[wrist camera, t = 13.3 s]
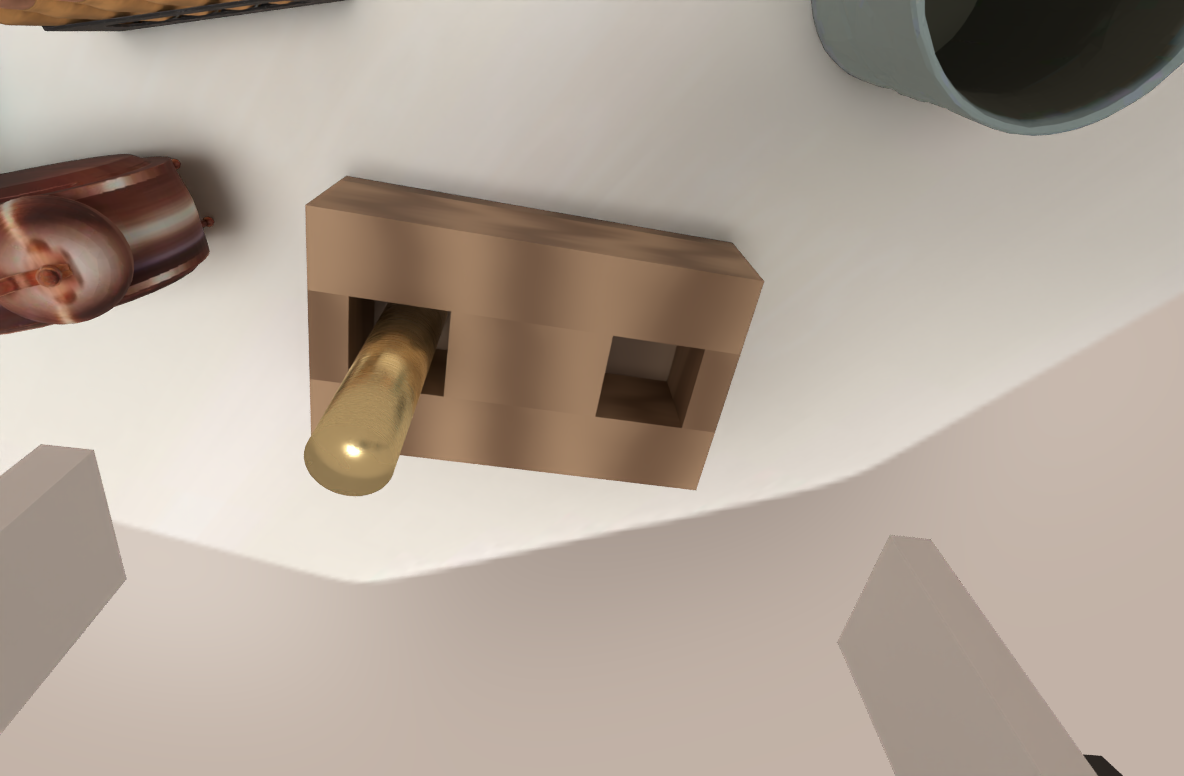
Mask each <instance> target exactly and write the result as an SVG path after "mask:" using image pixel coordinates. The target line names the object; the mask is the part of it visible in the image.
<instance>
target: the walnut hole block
mask: <svg viewBox="0 0 1184 776" xmlns="http://www.w3.org/2000/svg"><path fill="white" fill-rule="evenodd" d="M305 208H306V248H307V288H308V328H309V367H310V407H311V435H312V433H313V432H314V430H315V428H316V427H317V425H318V423H319V421H320V420H321V418H322V416H323V414H324V413H325V411H326V409H327V407H328V406H329V404H330V402H331V401H332V399H333V397H334V395H335V394H336V392H337V390H338V388H339V387H340V385H341V383H342V381H343V380H344V378H345V376H346V375H347V373H348V371H349V369H350V368H351V366H352V364H353V362H354V361H355V359H356V357H357V355H358V354H359V352H360V350H361V349H362V347H363V345H364V343H365V342H366V340H367V338H368V336H369V335H370V333H371V331H372V329H373V328H374V326H375V324H376V323H377V321H378V319H379V317H380V316H381V314H382V312H383V310H384V309H385V307H386V305H387V303H388V302H391V303H398V304H405V305H411V306H418V307H425V308H431V309H438V310H445V311H448V315H447V318H446V321H445V324H444V327H443V330H442V333H441V336H440V339H439V342H438V344H437V347H436V350H435V353H434V356H433V359H432V362H431V365H430V368H429V371H428V373H427V376H426V379H425V382H424V385H423V388H422V391H421V394H420V397H419V400H418V403H417V405H416V408H415V411H414V414H413V417H412V420H411V423H410V426H409V429H408V432H407V435H406V437H405V440H404V443H403V446H402V449H401V452H400V455H405V456H413V457H422V458H430V459H439V460H447V461H455V462H464V463H472V464H480V465H489V466H497V467H506V468H514V469H522V470H531V471H539V472H548V473H556V474H564V475H573V476H581V477H589V478H598V479H606V480H615V481H623V482H631V483H640V484H648V485H656V486H665V487H673V488H682V489H690V490H696V489H697V485H698V482H699V479H700V476H701V473H702V470H703V467H704V464H705V461H706V458H707V455H708V452H709V449H710V446H711V443H712V440H713V436H714V433H715V430H716V427H717V424H718V421H719V418H720V415H721V412H722V409H723V406H724V403H725V400H726V397H727V394H728V391H729V387H730V384H731V381H732V378H733V375H734V372H735V369H736V366H737V363H738V360H739V357H740V354H741V351H742V348H743V345H744V342H745V338H746V335H747V332H748V329H749V326H750V323H751V320H752V317H753V314H754V311H755V308H756V305H757V302H758V299H759V296H760V293H761V289H762V286H763V283H764V280H763V279H762V278H761V277H760V276H759V274H758V273H757V272H756V271H755V270H754V268H753V267H752V266H751V265H750V264H749V262H748V261H747V260H746V259H745V257H744V256H743V255H742V254H741V253H740V251H739V250H738V249H737V248H736V247H735V245H734V244H733V243H730V242H724V241H718V240H713V239H707V238H701V237H695V236H690V235H684V234H678V233H672V232H667V231H661V230H655V229H649V228H643V227H638V226H632V225H626V224H620V223H615V222H609V221H603V220H597V219H591V218H586V217H580V216H574V215H568V214H563V213H557V212H551V211H545V210H540V209H534V208H528V207H522V206H516V205H511V204H505V203H499V202H493V201H488V200H482V199H476V198H470V197H464V196H459V195H453V194H447V193H441V192H436V191H430V190H424V189H418V188H413V187H407V186H401V185H395V184H389V183H384V182H378V181H372V180H366V179H361V178H355V177H349V176H345V177H344V178H343V179H341V180H340V181H338V182H337V183H336V184H334V185H333V186H331V187H330V188H329V189H327V190H326V191H324V192H323V193H322V194H320V195H319V196H317V197H316V198H315V199H313V200H312V201H310V202H309V203H308V204H306V205H305Z"/></svg>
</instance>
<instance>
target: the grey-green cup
mask: <svg viewBox="0 0 1184 776" xmlns="http://www.w3.org/2000/svg"><path fill="white" fill-rule="evenodd" d="M812 10H813V18H814V22H815V25H816V29H817V32H818V35H819V37H820V40H821V42H822V45H823V47H824V49H825V51H826V52H827V53H828V54H829V55H830V57H831V58H832V59H833V60H834V61H835V62H836V63H837V64H838V65H839V66H840V67H841V68H842V69H843V70H845V71H846V72H848V74H850V75H852V76H854V77H856V78H858V79H861V80H863V81H866V82H869V83H872V84H874V85H877V86H880V87H885V88H892V89H894V90H895V91H897V92H898V93H899V94H901V95H905V96H908V97H910V98H913V99H916V100H919V101H923V102H930V103H932V104H935V105H938V106H941V107H944V108H947V109H948V110H950V111H952V112H955V113H957V114H959V115H961V116H963V117H966V118H968V119H970V120H973V121H975V122H977V123H980V124H982V125H985V126H987V127H990V128H992V129H996V130H999V131H1003V132H1006V133H1011V134H1021V135H1031V136H1036V135H1050V134H1057V133H1062V132H1066V131H1071V130H1075V129H1078V128H1081V127H1084V126H1087V125H1090V124H1093V123H1095V122H1098V121H1100V120H1102V119H1105V118H1107V117H1109V116H1110V115H1112V114H1114V113H1116V112H1117V111H1119V110H1121V109H1123V108H1125V107H1126V106H1128V105H1130V104H1132V103H1133V102H1135V101H1137V100H1138V99H1140V98H1141V97H1143V96H1144V95H1146V94H1147V93H1149V92H1150V91H1151V90H1153V89H1154V88H1155V87H1156V86H1157V85H1158V84H1159V83H1161V82H1162V81H1163V80H1164V79H1165V78H1166V77H1167V76H1169V75H1170V74H1171V73H1172V72H1173V71H1174V70H1175V69H1177V68H1178V67H1179V66H1180V65H1181V64H1182V63H1183V62H1184V0H812Z"/></svg>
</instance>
